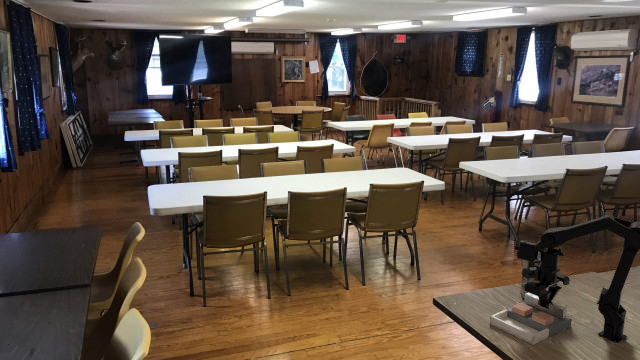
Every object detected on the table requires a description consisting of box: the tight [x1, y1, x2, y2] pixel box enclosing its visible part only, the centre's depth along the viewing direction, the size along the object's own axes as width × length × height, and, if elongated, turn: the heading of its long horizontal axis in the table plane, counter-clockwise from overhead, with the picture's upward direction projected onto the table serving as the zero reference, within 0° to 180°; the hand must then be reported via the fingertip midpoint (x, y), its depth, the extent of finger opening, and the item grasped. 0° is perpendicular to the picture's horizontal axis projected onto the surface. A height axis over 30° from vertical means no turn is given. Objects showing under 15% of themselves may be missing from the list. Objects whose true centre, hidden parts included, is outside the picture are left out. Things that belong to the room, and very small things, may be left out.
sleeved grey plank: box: [523, 293, 568, 319], centre depth 178 cm, size 2×15×4 cm, turn 33°
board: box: [505, 301, 573, 338], centre depth 177 cm, size 13×17×3 cm
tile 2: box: [532, 311, 554, 326], centre depth 171 cm, size 5×5×2 cm
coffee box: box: [520, 255, 541, 299], centre depth 196 cm, size 9×6×16 cm
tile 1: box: [511, 302, 533, 317], centre depth 178 cm, size 5×5×2 cm
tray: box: [489, 309, 550, 346], centre depth 171 cm, size 8×17×3 cm, turn 33°
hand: (545, 305), depth 178 cm, fingers closed on sleeved grey plank, 2 cm apart
